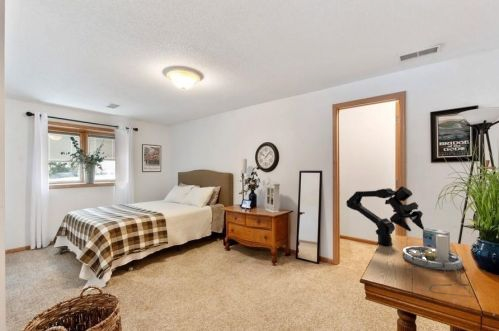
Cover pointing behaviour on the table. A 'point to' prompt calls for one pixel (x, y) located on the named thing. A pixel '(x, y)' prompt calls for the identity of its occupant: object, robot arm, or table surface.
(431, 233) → the light bulb box
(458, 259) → the carrier plate
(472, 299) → the table surface
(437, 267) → the eyeglasses
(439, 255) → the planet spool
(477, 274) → the table surface
